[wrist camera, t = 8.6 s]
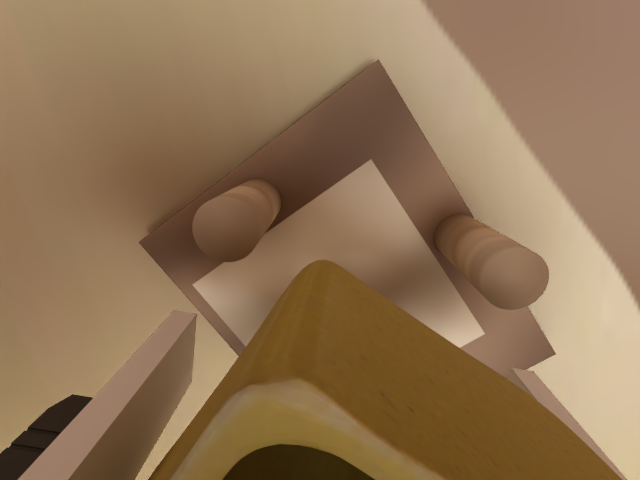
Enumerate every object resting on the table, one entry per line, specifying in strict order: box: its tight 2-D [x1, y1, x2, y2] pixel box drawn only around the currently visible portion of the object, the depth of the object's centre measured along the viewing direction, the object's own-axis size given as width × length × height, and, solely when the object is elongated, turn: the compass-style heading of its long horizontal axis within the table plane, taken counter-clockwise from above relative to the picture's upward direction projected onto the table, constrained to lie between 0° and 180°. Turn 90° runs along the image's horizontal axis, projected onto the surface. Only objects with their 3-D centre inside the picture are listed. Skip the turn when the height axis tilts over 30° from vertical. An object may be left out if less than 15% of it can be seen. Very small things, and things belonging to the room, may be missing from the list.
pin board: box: [139, 60, 556, 379], centre depth 14 cm, size 16×13×6 cm
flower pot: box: [148, 260, 622, 480], centre depth 9 cm, size 9×9×9 cm
